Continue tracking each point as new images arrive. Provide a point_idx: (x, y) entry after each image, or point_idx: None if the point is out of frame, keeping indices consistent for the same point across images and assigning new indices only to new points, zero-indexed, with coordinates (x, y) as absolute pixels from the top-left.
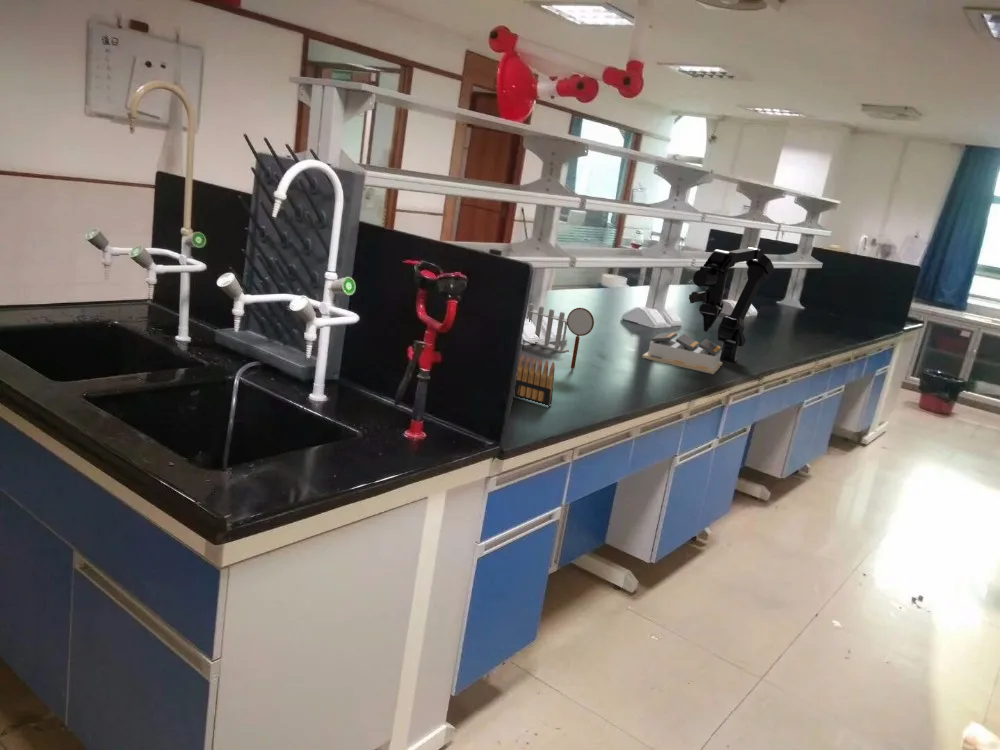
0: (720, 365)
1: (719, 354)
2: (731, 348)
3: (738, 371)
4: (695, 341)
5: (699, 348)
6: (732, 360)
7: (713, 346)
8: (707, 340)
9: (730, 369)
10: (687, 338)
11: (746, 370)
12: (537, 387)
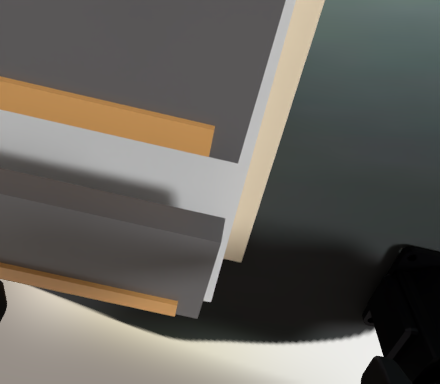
0: None
1: None
2: (399, 364)
3: None
4: (183, 126)
5: (122, 149)
6: (366, 314)
7: (80, 269)
8: (185, 250)
9: None
10: (134, 22)
11: (213, 337)
12: None
